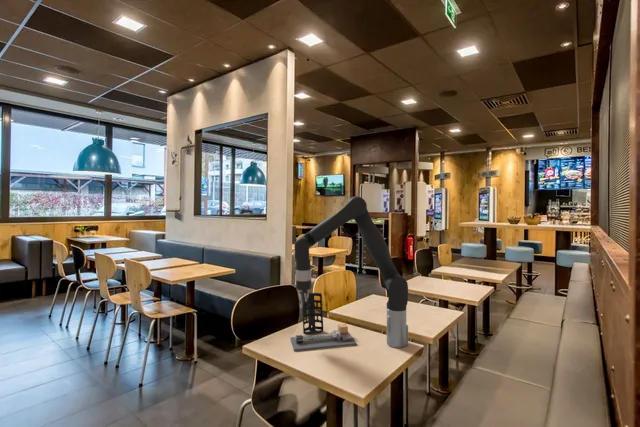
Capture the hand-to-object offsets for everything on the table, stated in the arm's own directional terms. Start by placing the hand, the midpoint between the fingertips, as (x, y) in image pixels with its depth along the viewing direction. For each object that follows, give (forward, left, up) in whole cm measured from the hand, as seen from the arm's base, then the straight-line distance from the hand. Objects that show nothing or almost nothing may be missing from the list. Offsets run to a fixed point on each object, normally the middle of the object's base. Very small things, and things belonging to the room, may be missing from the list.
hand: (304, 314), depth 163 cm
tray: (-9, 0, -14) cm, 17 cm away
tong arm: (-5, 0, -12) cm, 13 cm away
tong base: (-9, -1, -13) cm, 16 cm away
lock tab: (-20, -4, -12) cm, 24 cm away
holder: (-6, -15, -15) cm, 22 cm away
